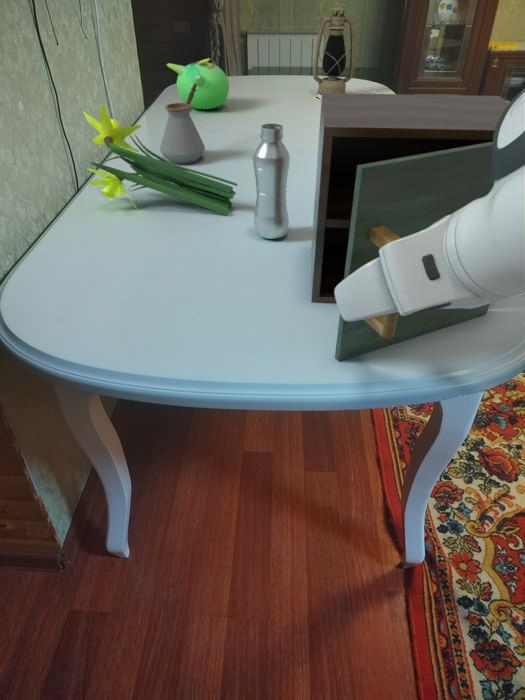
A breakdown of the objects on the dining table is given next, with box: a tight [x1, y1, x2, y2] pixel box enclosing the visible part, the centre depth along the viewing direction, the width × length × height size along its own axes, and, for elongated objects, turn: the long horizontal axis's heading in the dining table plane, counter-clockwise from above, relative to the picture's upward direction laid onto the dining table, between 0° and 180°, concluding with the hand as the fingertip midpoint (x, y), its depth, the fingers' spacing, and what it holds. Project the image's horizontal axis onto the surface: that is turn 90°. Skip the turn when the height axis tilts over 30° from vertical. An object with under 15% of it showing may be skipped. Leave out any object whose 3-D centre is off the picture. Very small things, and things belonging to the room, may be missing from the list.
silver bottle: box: [252, 123, 291, 240], centre depth 92 cm, size 6×7×20 cm
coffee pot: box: [159, 83, 206, 165], centre depth 131 cm, size 21×12×15 cm, turn 169°
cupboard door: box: [334, 142, 494, 362], centre depth 63 cm, size 7×26×26 cm, turn 115°
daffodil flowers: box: [82, 103, 239, 217], centre depth 105 cm, size 17×15×35 cm
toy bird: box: [166, 58, 230, 111], centre depth 167 cm, size 18×17×15 cm
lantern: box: [312, 0, 359, 95], centre depth 176 cm, size 14×12×30 cm
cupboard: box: [310, 92, 509, 305], centre depth 78 cm, size 18×26×26 cm
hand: (390, 295), depth 59 cm, fingers closed on cupboard door, 2 cm apart
